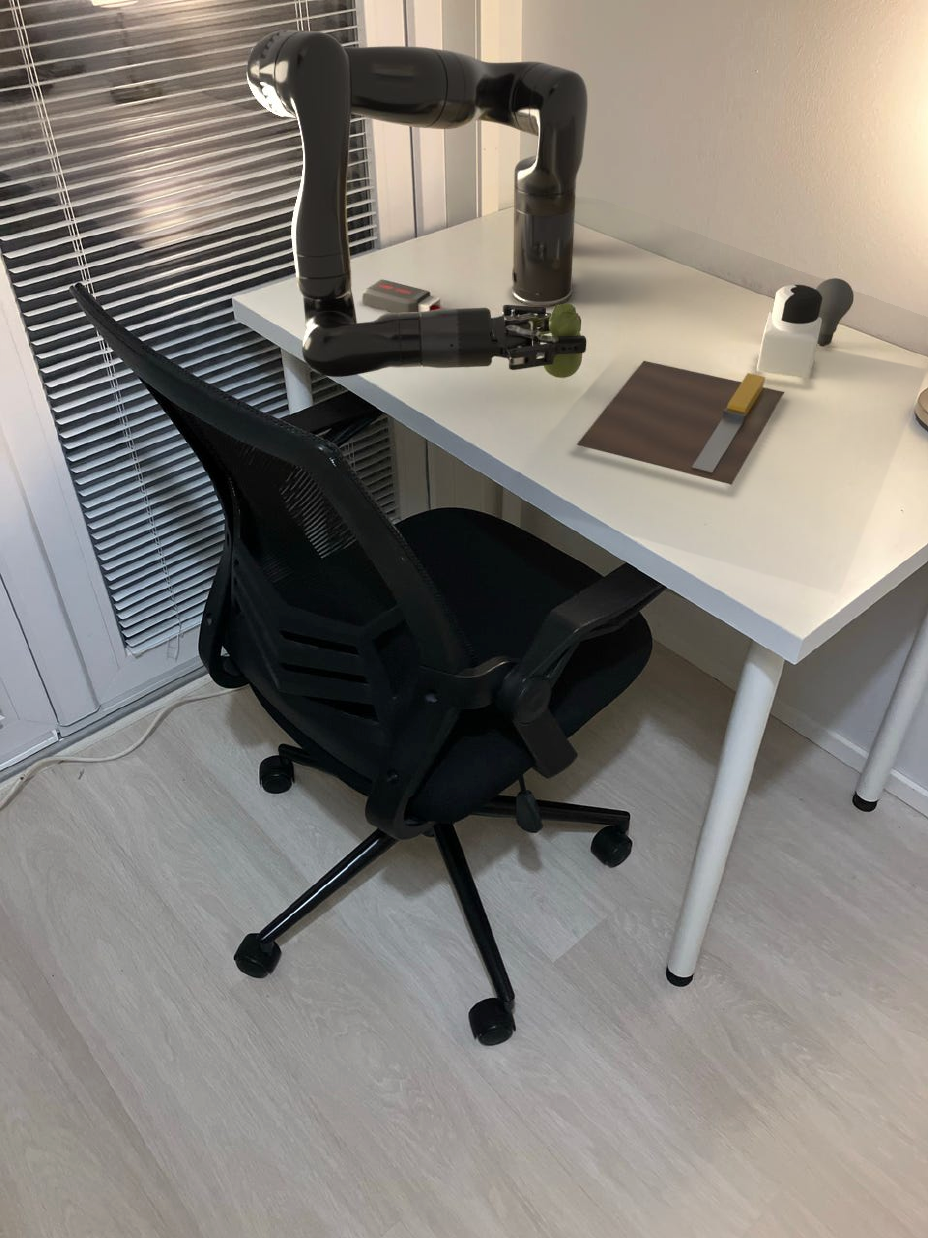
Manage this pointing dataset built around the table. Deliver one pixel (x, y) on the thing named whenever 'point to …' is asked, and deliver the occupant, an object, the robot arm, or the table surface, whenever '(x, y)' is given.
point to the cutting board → (677, 420)
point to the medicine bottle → (791, 332)
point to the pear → (564, 324)
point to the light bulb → (833, 307)
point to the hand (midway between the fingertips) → (582, 333)
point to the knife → (730, 423)
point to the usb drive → (399, 298)
